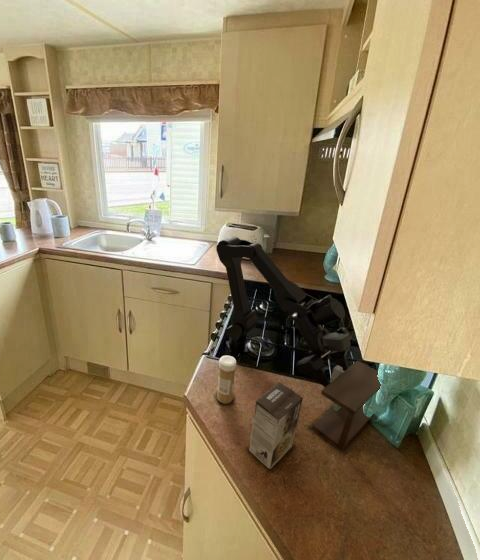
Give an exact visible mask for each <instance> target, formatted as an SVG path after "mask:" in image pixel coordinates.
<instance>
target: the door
mask: <svg viewBox="0 0 480 560" xmlns="http://www.w3.org/2000/svg"><path fill="white" fill-rule="evenodd" d="M343 372H344V371H343V368H342V367H340V366H339V365H336V366H334V367H333V370H332V373H331V378H330V379H329V381H330V383H331V382H332V381H333V380H335V379H336V378H337V377H338V376H339V375H341V374H342V373H343ZM333 406H334V410H335V411H338V410H339V409H340V408H341V407H340V406H339V405H337V404H336V403H334V405H333Z"/></svg>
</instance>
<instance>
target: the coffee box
mask: <svg viewBox="0 0 480 560" xmlns="http://www.w3.org/2000/svg"><path fill="white" fill-rule="evenodd" d="M303 398H304V397H303V396H302V395H300V394H298V393H297V392H295V390H293V389H291V388H290V387H288V386H287V385H285V384H284V383H282V382H280V381H279V382H277V383H276V384H274V386H272V387H271V388H270V389H269V390H268V391H267V392H265V393H264V394H263V395H261V396H260V397H259V398H258V399H256V400H255V407H254V413H253V420H252V427H251V434H250V440H249V449H248V451H249V452H250V453H251V454H252V455H253V456H254V457H255V458H257V459H258V460H259V462H260V463H262V464H263V465H264V466H265V467H266V468H267V469H269V470H272V468H273V467H274V466H275V465H276V464H277V463H278V462H279V461H280V460H281V459H282V458H283V456H285V454H287V453H288V452H289V450H290V449H292V447H293V445H294V441H295V435H296V430H297V426H298V422H299V418H300V412H301V408H302V403H303V400H304V399H303Z"/></svg>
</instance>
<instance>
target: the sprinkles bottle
mask: <svg viewBox="0 0 480 560" xmlns="http://www.w3.org/2000/svg"><path fill="white" fill-rule="evenodd" d="M218 366H219V367H218V368H219V369H218V378H217V379H218V380H217V394H216V398H217V400H218V402H220V403H222V404H230V403H232V401H233V399H234V390H235V389H234V388H235V374H236V369H237V360H236V358H235V357H234V356H231V355H222V356H221V357H220V358H219V360H218Z"/></svg>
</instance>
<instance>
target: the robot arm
mask: <svg viewBox="0 0 480 560" xmlns="http://www.w3.org/2000/svg"><path fill="white" fill-rule="evenodd" d="M215 250H216V254H217V256H218V259H219V262H220V263H221V264H222V265H223V266H224V267H225V270H226V275H227V281H228V286H229V291H230V296H231V302H232V306H233V311H232V316H231V325H230V326H228V327H227V328H225V329H224V333H225V336H226V337H228V338H229V340H226V341H225V344H226V347H227V350H228V351H229V353H230V354H232V355H233V354H245V353H249V349H248V347H247V337H248V336H247V335H248V334H249V333H250V332H251V331H253V330H254V329H255V328H256V327H257V326H258V322H259V318H258V316H257V314H258V313H257V310H256V309H252V307H250V305H249V301H248V294H247V289H246V284H245V279H244V274H243V273H244V272H243V269H242V261H243V258H245V259H249V261H250V262H251V263H252V264H253V266H254V267H255V268H256V269H257V271H258V272H259V273H260V275H261V276H262V277H263V278H264V280H265V281H266V283H268V285H269V286H270V288H272V290H273V292H274V298H275V300H276V302H277V304H278V305H279V307H280V309H281V310H282V311H283V312H285V313H288V317H287V319H286V322H287V323H290V322H293V321H294V323H295V325H296V327H297V329H298V330H299V332H300V334H301V336H302V338H301V339H300V341H301V343H306V345H307V347H308V349H309V351H308V352H307V354H308V355H309V356H305V357H303V358H302V359H300V360H298V361H297V362H296V369H297V370H298V373H299V374H304V375H308V376H309V377H311V378H312V379H313V380H314V381H316V382H317V383H318V384H320V385H321V386H322V387H324V388H325V387H326V386H327V385H329V384H330V383H331V382H330V379H329V377H328V375H327V373H326V367H327V365H326V364H324V360H323V359H325V358H326V357H327V356H329V358H330V359H331V360H332V361H333V362H334V364H335V365H336V366H337V365H339V366H340V367H342V368H343V371H345V370H347V369H348V368H349V367H350V366H349V363H348V357H347V355H348V352H349V350H350V349H351V347H352V346H351V344H352V342H351V339H353V336H352V335H351V333H350V331H349V330H348V329H347V327H340V328H338V329H337V331H335V332H330V331H329V329H327V328H326V327H324V328H323V327H322V326H327V325H329V324H332V323H334V322H337V321H340V320H342V319H344V318H345V317H346V311H345V307H344V306H343V304H342V303H341V302H340V301H339V300H337V298H333V297H332V294H328V295H326V296H325V297H323V298H320V299H318V298H316V297H314V296H311V295H310V294H308V293H306V292H305V291H304V290H303V289H302V288H301V287H300V286H299V285H298V284H296V283H295V282H294V281H291V280H289V279H288V278H287V277H286V276H285V275H284V274H283V272H282V271H281V270H280V269H279V267H278V266H277V265H276V263H275V262H274V261H273V260H272V259H271V257H270V256H269V255H268V253H267V252H266V251H265V250H264V249H263V246H262V244H260V243H259V242H253V241H250V240H249V239H248V240H247V239H240V238H239V237H238V236H235V235H234V236H230V237H227V238H225V239H222V240H220V241H219V242H218V243H217V244H216V246H215Z"/></svg>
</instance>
